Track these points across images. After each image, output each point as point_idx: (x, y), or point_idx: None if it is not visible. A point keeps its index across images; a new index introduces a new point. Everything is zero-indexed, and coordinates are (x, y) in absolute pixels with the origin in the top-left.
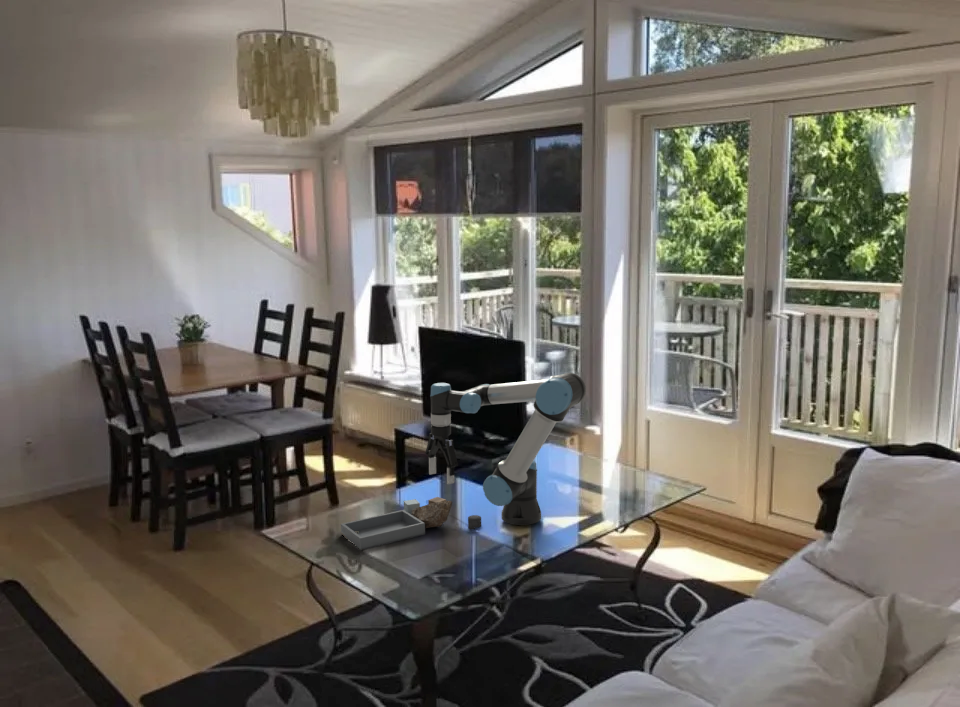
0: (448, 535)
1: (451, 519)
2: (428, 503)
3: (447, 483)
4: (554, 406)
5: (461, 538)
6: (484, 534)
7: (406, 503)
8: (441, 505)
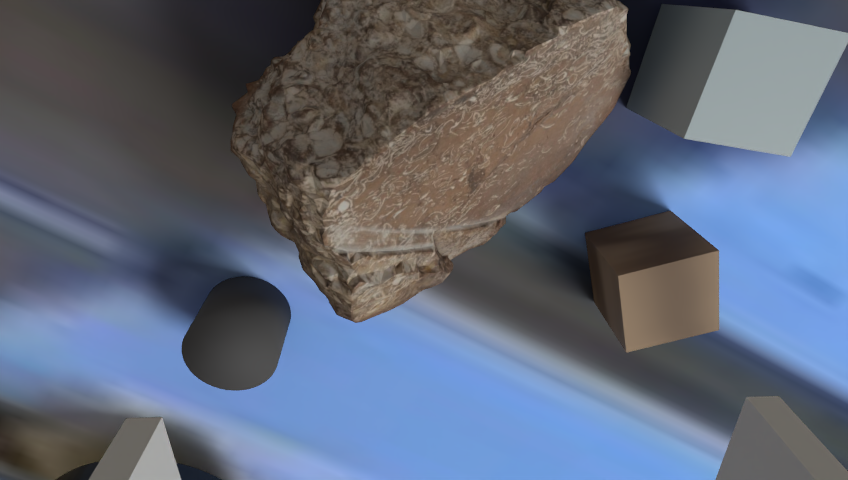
0: (188, 107)
1: None
2: (702, 237)
3: (144, 423)
4: None
5: (94, 156)
6: (110, 305)
7: (774, 22)
8: (279, 189)
